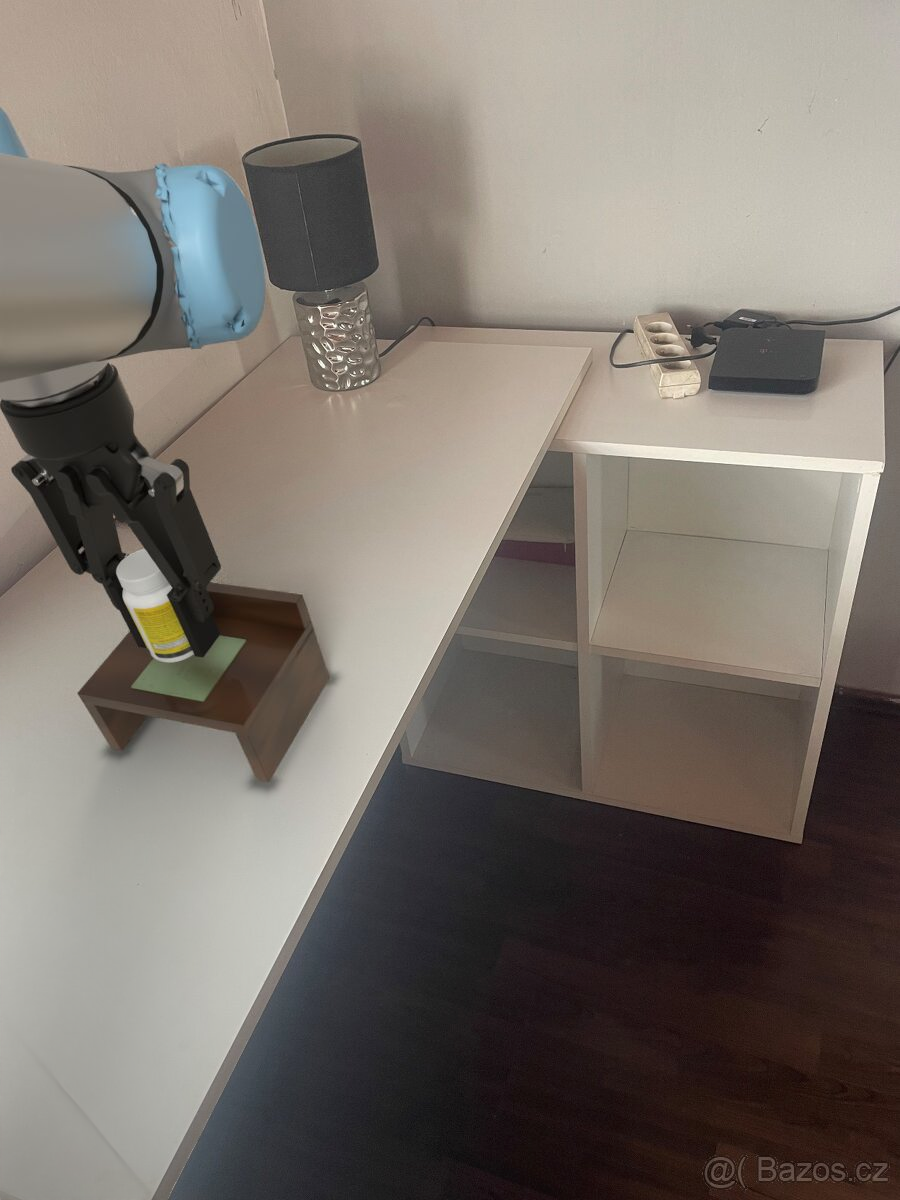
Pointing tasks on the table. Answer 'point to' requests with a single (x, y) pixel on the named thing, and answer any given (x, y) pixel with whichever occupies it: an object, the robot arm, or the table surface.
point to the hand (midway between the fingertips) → (179, 640)
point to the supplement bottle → (152, 607)
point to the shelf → (221, 678)
